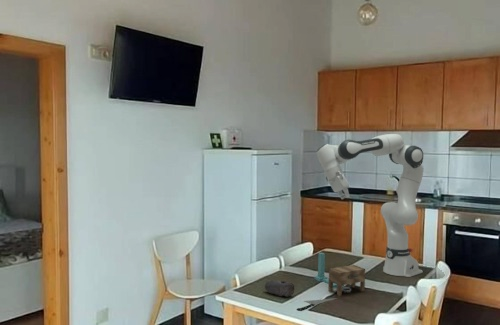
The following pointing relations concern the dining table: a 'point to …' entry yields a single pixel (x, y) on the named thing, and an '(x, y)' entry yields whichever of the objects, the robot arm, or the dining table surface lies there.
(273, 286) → the perforated stone tool
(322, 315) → the dining table surface
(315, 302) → the cleaver
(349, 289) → the metal token
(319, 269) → the teal post stand
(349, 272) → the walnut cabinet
